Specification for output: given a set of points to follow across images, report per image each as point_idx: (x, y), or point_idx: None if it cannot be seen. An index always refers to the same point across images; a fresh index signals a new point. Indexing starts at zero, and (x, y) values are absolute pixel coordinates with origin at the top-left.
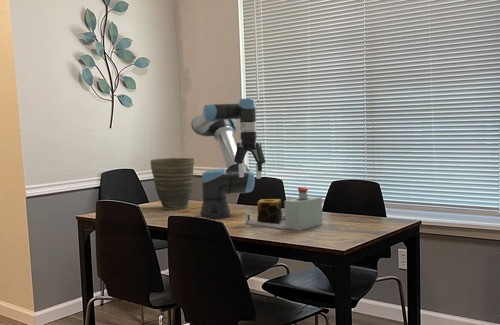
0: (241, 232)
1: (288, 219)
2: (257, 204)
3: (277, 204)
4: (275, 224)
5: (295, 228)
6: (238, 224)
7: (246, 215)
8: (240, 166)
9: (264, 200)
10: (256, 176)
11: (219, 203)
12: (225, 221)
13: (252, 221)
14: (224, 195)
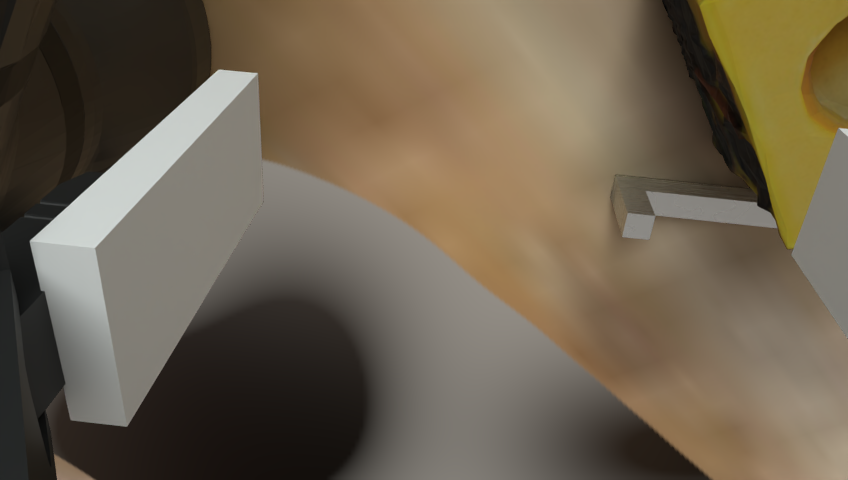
0: (765, 452)
1: None
2: (781, 236)
3: None
4: None
5: None
6: (563, 250)
7: (628, 235)
8: (160, 331)
9: (805, 61)
10: (815, 281)
11: (106, 138)
12: (360, 195)
13: (699, 219)
14: (41, 76)
